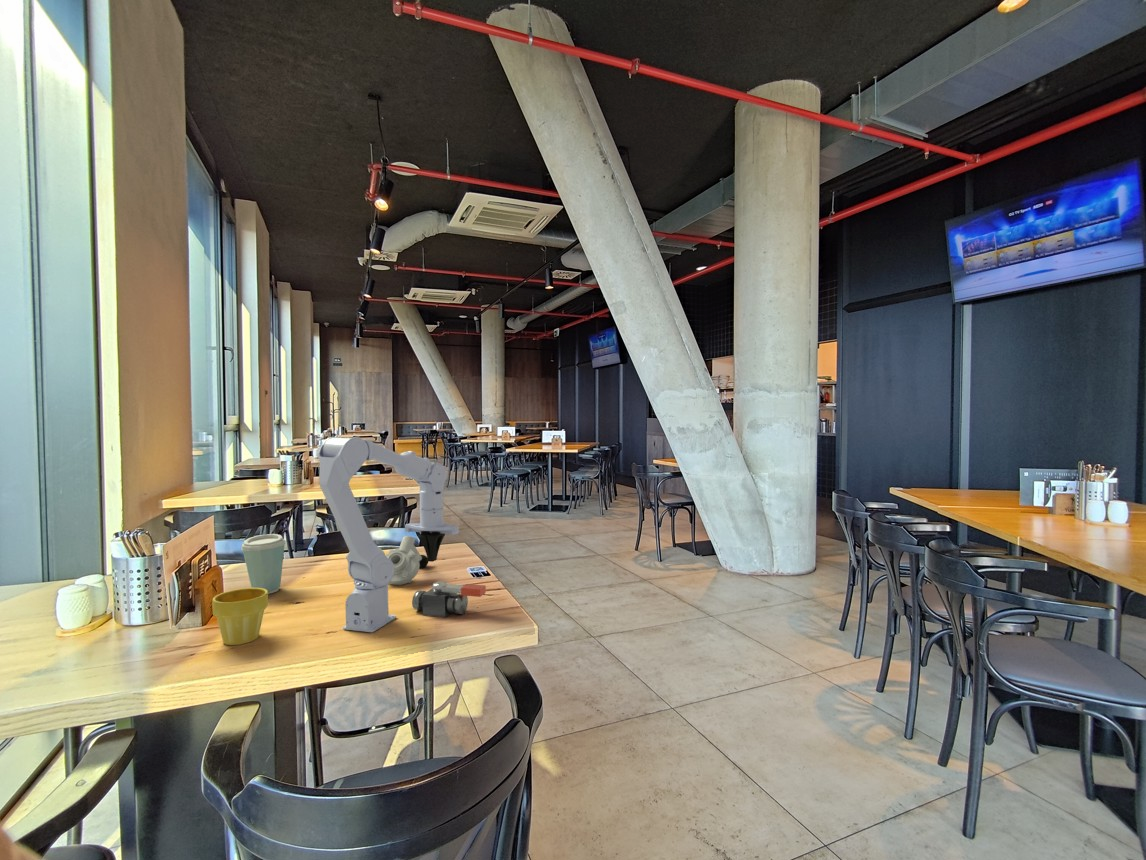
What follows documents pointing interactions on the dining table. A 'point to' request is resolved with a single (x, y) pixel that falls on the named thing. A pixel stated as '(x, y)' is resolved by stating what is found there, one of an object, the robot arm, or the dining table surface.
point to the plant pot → (240, 614)
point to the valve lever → (460, 589)
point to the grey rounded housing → (406, 561)
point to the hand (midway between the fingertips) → (432, 560)
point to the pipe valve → (439, 603)
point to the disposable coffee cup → (264, 561)
